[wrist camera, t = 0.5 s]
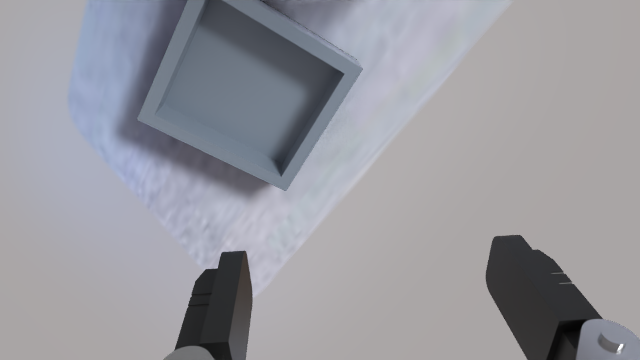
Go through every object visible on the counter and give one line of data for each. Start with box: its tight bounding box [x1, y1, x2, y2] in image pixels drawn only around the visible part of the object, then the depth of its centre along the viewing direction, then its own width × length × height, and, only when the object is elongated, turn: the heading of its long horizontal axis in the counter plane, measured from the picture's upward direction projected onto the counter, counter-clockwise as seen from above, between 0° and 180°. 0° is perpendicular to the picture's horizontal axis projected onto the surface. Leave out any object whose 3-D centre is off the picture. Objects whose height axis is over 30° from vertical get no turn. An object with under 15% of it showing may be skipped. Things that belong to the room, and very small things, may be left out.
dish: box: [137, 0, 363, 191], centre depth 33 cm, size 12×13×4 cm
